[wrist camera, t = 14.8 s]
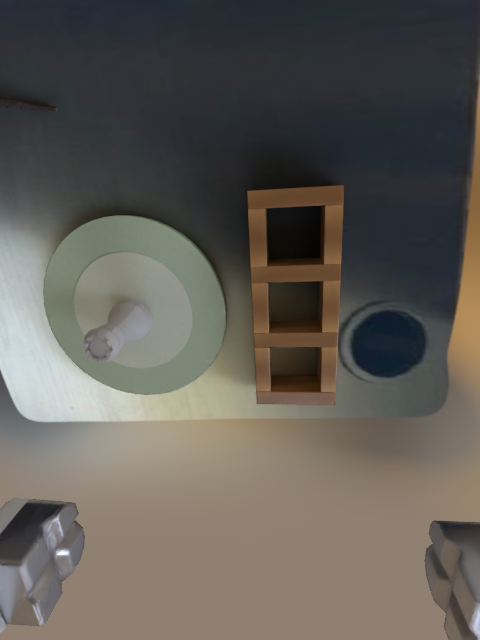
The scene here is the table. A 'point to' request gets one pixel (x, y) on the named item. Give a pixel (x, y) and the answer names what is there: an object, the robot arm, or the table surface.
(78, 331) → the plate
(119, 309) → the rook chess piece
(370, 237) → the table surface
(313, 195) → the rack
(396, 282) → the table surface
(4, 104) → the dinosaur model
